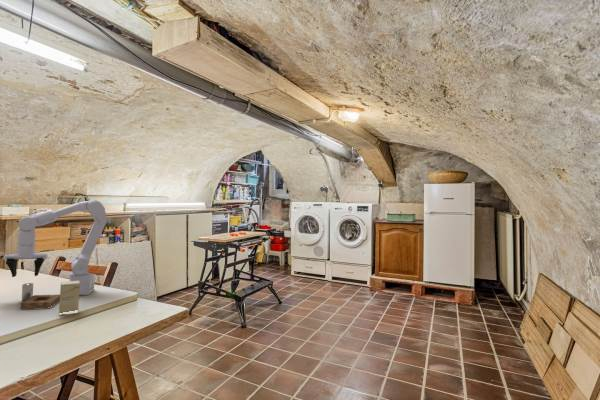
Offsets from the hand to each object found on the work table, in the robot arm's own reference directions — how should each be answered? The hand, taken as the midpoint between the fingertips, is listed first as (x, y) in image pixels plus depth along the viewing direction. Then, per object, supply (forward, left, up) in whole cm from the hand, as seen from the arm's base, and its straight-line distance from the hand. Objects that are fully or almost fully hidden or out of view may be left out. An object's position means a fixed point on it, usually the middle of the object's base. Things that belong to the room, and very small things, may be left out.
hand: (25, 275), depth 138 cm
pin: (-2, +1, -10) cm, 11 cm away
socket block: (-10, +7, -10) cm, 16 cm away
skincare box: (-24, +18, -11) cm, 32 cm away
